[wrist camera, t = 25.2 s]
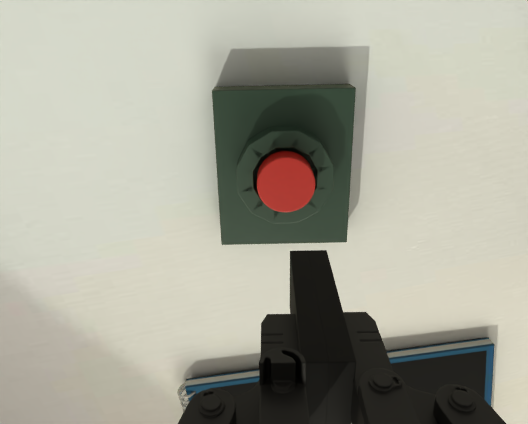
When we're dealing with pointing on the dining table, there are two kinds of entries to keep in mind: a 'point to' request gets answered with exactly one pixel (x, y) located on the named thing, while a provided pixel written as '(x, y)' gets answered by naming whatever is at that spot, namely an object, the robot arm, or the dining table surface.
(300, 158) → the stop button
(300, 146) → the switch block
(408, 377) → the sketchbook
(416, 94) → the dining table surface
